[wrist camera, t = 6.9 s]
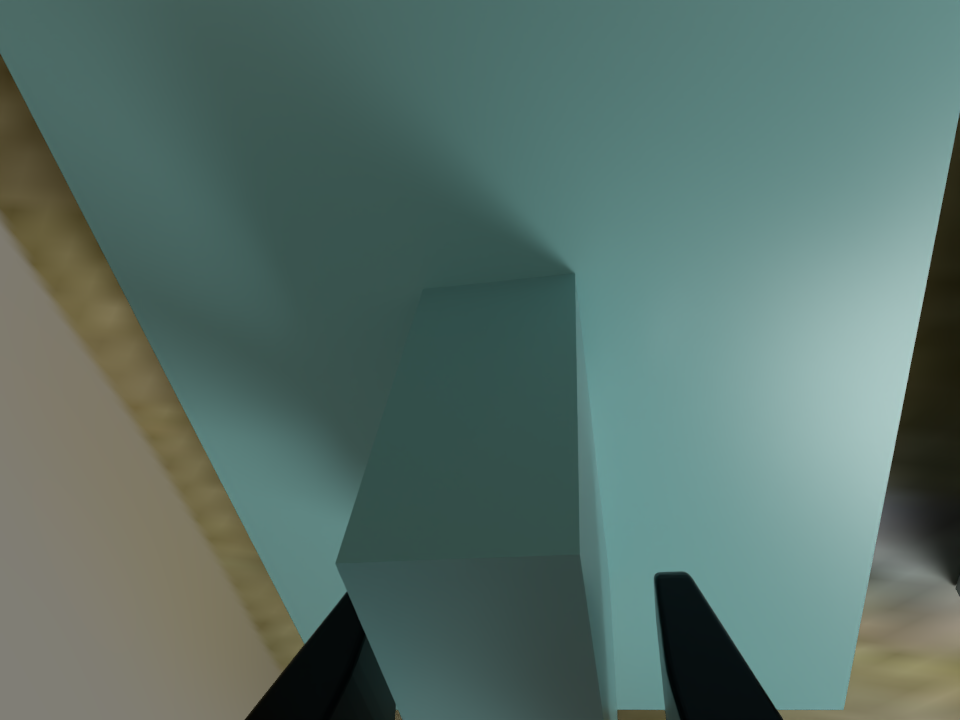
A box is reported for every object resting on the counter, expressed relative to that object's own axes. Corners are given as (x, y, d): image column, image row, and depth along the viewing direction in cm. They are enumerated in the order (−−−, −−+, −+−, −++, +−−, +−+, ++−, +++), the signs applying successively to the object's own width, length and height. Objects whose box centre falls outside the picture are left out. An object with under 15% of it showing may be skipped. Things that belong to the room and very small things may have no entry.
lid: (811, 609, 16) (937, 1009, 11) (362, 619, 18) (271, 965, 12) (917, -202, 8) (1673, -289, 3) (83, -33, 10) (-521, 130, 4)
